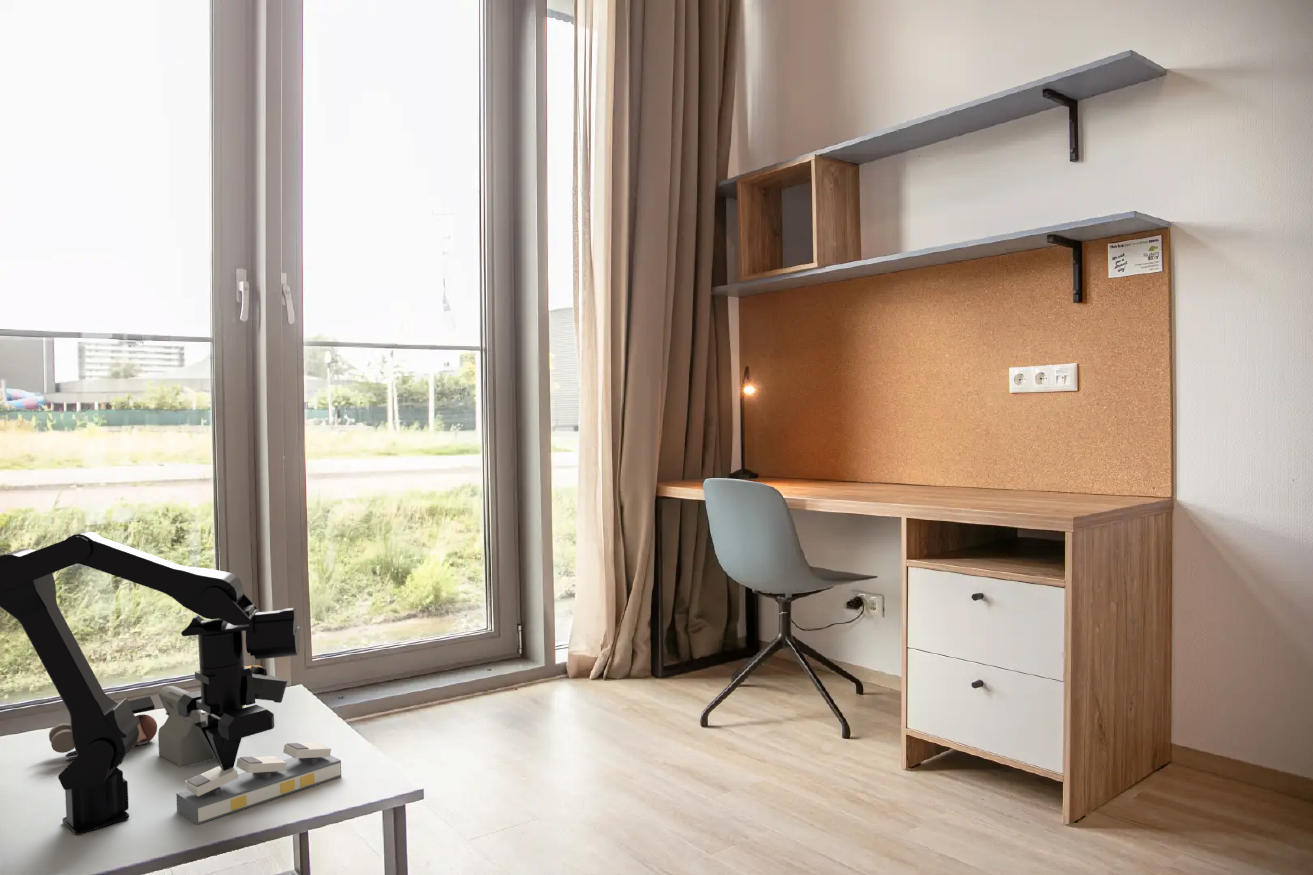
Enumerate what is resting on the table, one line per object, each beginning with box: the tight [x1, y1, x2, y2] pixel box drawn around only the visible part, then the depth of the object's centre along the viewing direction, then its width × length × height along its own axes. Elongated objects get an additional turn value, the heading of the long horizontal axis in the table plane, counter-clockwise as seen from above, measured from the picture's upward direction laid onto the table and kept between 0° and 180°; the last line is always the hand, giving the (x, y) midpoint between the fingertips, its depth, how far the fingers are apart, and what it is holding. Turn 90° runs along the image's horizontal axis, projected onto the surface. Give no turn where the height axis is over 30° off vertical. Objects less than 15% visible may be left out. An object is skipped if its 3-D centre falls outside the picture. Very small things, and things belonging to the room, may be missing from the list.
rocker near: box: [184, 765, 239, 796], centre depth 127 cm, size 6×4×1 cm
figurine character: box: [48, 695, 158, 762], centre depth 152 cm, size 7×8×15 cm
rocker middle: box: [235, 755, 287, 773], centre depth 132 cm, size 6×4×1 cm
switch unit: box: [175, 754, 342, 825], centre depth 132 cm, size 21×7×3 cm, turn 138°
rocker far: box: [282, 742, 332, 758], centre depth 137 cm, size 6×4×1 cm
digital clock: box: [157, 685, 216, 768], centre depth 149 cm, size 16×9×11 cm, turn 38°
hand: (227, 771), depth 129 cm, fingers closed, pressing on rocker near
